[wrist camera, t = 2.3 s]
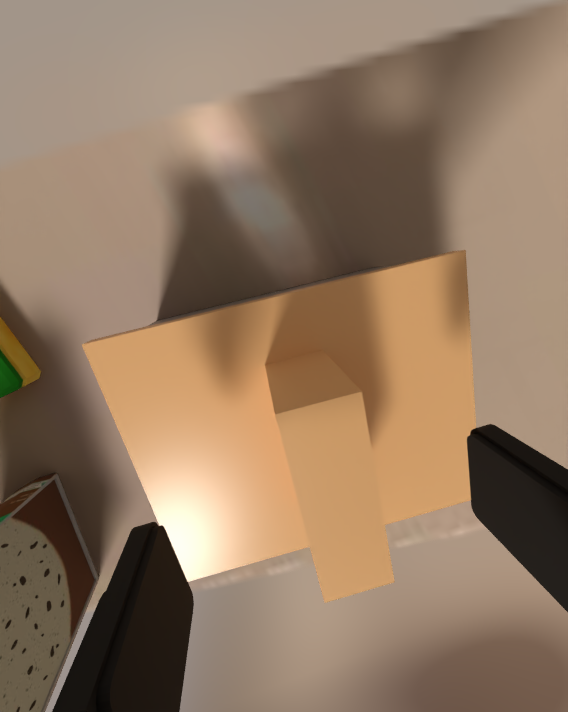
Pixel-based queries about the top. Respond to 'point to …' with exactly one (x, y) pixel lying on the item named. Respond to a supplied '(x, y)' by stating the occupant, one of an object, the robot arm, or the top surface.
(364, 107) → the top surface
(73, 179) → the top surface
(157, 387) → the lid
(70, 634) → the food container
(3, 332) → the dish sponge
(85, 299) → the top surface
